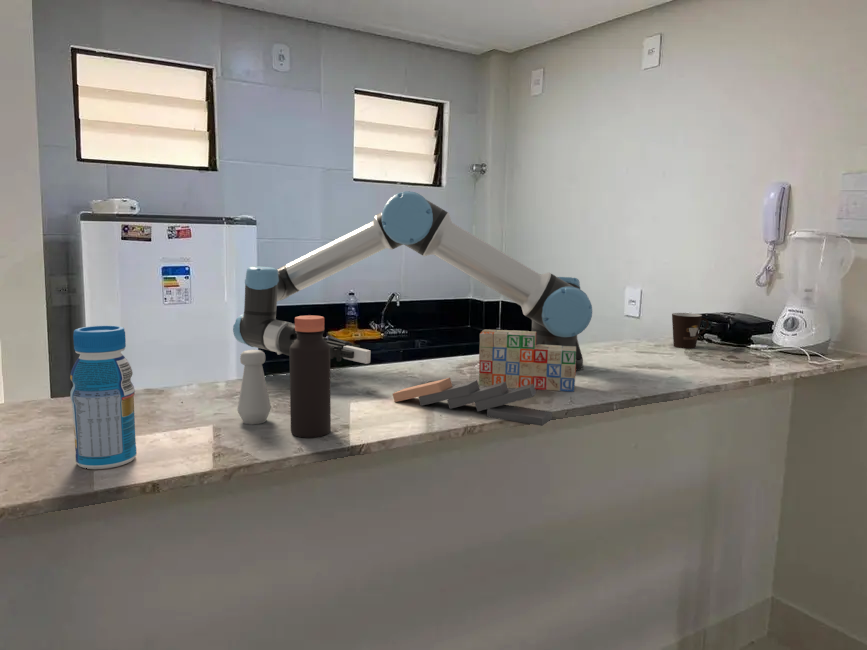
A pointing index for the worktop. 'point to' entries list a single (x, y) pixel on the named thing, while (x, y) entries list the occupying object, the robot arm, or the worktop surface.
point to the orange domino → (422, 390)
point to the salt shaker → (253, 389)
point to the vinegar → (310, 379)
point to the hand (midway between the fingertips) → (368, 357)
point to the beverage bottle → (102, 399)
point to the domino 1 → (450, 393)
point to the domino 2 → (479, 395)
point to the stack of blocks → (525, 361)
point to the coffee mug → (686, 329)
